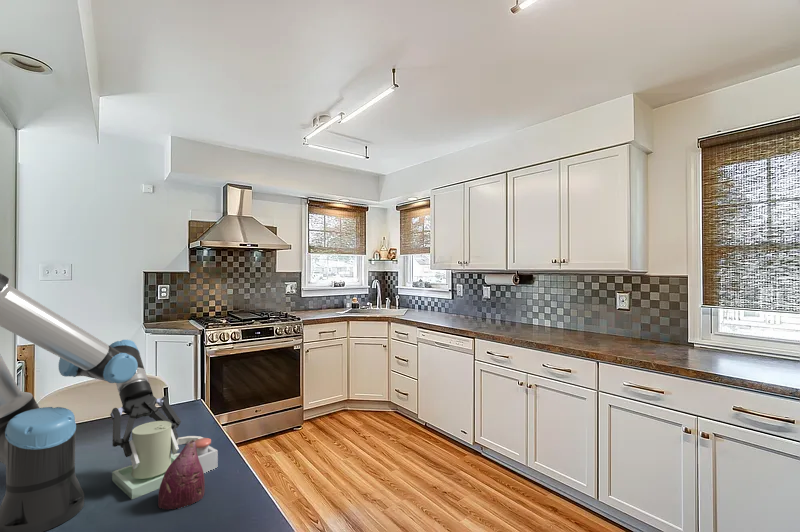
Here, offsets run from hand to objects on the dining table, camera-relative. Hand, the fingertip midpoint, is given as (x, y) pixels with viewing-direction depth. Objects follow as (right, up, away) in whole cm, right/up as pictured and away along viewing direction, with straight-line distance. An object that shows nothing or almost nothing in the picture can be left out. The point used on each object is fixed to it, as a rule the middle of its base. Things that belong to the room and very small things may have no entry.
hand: (156, 458), depth 103 cm
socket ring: (-3, -6, +17) cm, 19 cm away
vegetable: (+11, -6, -7) cm, 14 cm away
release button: (+9, -5, +7) cm, 12 cm away
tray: (-2, -6, +2) cm, 7 cm away
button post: (+9, -6, +7) cm, 13 cm away
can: (-3, -4, +2) cm, 5 cm away
